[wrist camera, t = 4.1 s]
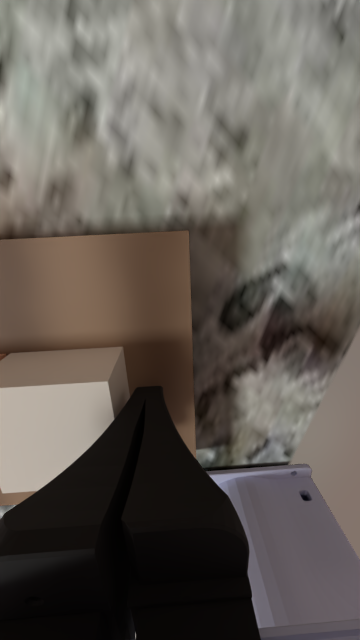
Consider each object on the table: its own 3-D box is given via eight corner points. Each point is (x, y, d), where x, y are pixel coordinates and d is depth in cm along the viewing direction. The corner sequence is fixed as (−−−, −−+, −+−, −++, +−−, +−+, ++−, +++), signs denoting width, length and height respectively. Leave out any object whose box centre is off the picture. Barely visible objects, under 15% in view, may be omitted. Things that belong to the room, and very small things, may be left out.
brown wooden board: (184, 232, 13) (188, 230, 10) (192, 450, 18) (197, 490, 15) (-116, 247, 12) (-201, 249, 9) (-16, 466, 18) (-52, 509, 15)
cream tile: (122, 346, 12) (107, 381, 9) (134, 432, 13) (125, 484, 11) (11, 353, 11) (-42, 390, 9) (38, 439, 13) (2, 493, 10)
